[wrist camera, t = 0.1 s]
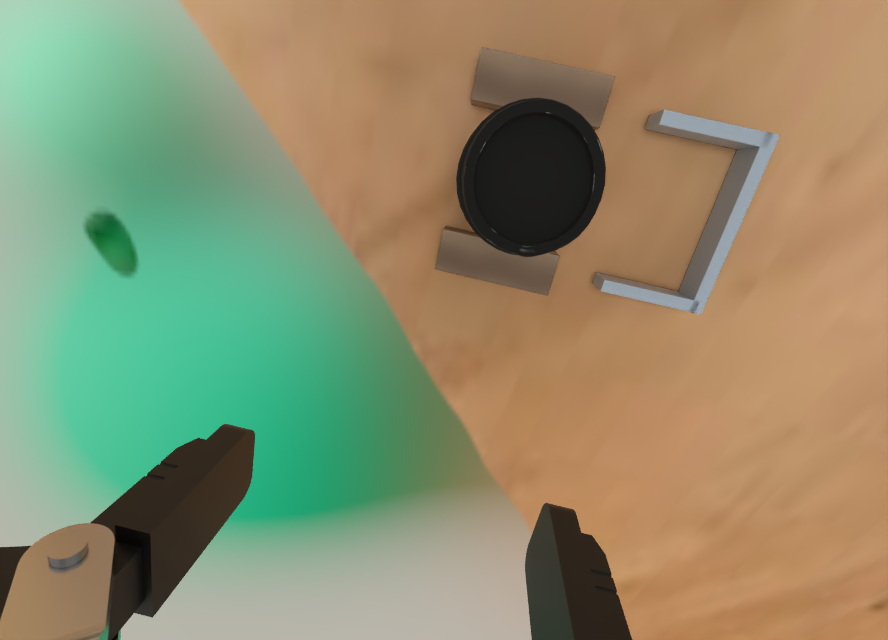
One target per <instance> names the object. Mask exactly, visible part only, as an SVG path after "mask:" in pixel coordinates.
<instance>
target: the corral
mask: <svg viewBox="0 0 888 640" xmlns="http://www.w3.org/2000/svg"><path fill="white" fill-rule="evenodd" d="M645 129H647V130H651V131H656V132H660V133H665V134H669V135H674V136H678V137H683V138H687V139H692V140H696V141H701V142H705V143H710V144H714V145H719V146H723V147H728V148H732V149H737V151H736V153H735V156H734V158H733V161H732V163H731V166H730V168H729V170H728V173H727V175H726V178H725V180H724V182H723V185H722V187H721V190H720V192H719V194H718V197H717V199H716V202H715V204H714V207H713V209H712V211H711V214H710V216H709V219H708V221H707V223H706V226H705V228H704V231H703V233H702V236H701V238H700V240H699V243H698V245H697V248H696V250H695V252H694V255H693V257H692V260H691V262H690V264H689V267H688V269H687V272H686V274H685V277H684V279H683V281H682V284H681V286H680V289H679V291H675V290H670V289H666V288H662V287H657V286H653V285H649V284H644V283H640V282H636V281H631V280H627V279H623V278H618V277H614V276H610V275H605V274H601V273H597V272H596V273H595V276H594V279H593V282H592V283H593V284H594V285H595V286H596V287H597V288H598V289H599V290H600V291H602V292H606V293H611V294H615V295H619V296H624V297H628V298H632V299H637V300H641V301H645V302H649V303H654V304H658V305H662V306H667V307H671V308H675V309H680V310H684V311H688V312H693V313H697V314H701V313H702V311H703V309H704V306H705V304H706V302H707V300H708V297H709V295H710V293H711V291H712V288H713V286H714V284H715V282H716V279H717V277H718V275H719V272H720V270H721V268H722V266H723V263H724V261H725V259H726V257H727V254H728V252H729V250H730V248H731V245H732V243H733V241H734V238H735V236H736V234H737V232H738V229H739V227H740V225H741V223H742V220H743V218H744V216H745V214H746V211H747V209H748V207H749V204H750V202H751V200H752V198H753V195H754V193H755V191H756V189H757V186H758V184H759V182H760V180H761V177H762V175H763V173H764V170H765V168H766V166H767V164H768V161H769V159H770V157H771V155H772V152H773V150H774V148H775V146H776V143H777V141H778V139H779V136H780V135H777V134H773V133H768V132H764V131H759V130H755V129H750V128H745V127H741V126H736V125H732V124H727V123H723V122H718V121H714V120H709V119H705V118H700V117H696V116H691V115H687V114H682V113H678V112H673V111H669V110H662V111H659V112H657V113H654V114H652V115H649V118H648V121H647V124H646V127H645Z"/></svg>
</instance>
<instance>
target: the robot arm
mask: <svg viewBox="0 0 888 640" xmlns="http://www.w3.org/2000/svg"><path fill="white" fill-rule="evenodd" d="M254 443H255V434H254V431H253V430H249V429H245V428H241V427H237V426H233V425H229V424H224V425H222V426H221V427H220V428H219V429H218V430H217V431H216V432H214V433H213V434H212V435H211V436H210V437H209V438H208V439H207V440H204V439H200V438H197V439H195V440H193V441H191V442H189V443H186V444H184V445H182V446H180V447H178V448H177V449H175V450H174V451H173V452H172V453H171V454H170V455H168V456H167V457H166V458H165V459H164V460H163V461H161V464H160V465H157V466H156V467H154V468H153V469H152V470H151V471H150V472H149V473H148V475H147V476H146V477H145V476H144V477H143V478H142V479H141V480H140V481H138V482H137V483H136V484H135V485H134V486H132V488H130V489H129V490H128V491H127V492H126V493H124V494H123V495H122V496H121V497H120V498H119V499H118V500H116V501H115V502H114V503H113V504H112V505H111V506H109V507H108V508H107V509H106V510H105V511H104V512H102V513H101V514H100V515H99V516H98V517H97V518H96V519H94V520H93V521H92V522H91V523H85V524H77V525H72V526H68V527H65V528H62V529H59V530H57V531H55V532H52V533H50V534H49V535H47V536H45V537H43V538H42V539H40V540H39V541H37V542H36V543H34V544H33V545H32V546H22V547H0V640H120V638H121V637H120V636H121V634H120V633H121V632H120V629H121V628H122V627H123V626H124V624H125V623H126V622H127V621H128V619H129V618H130V617H131V616H132V615H133V613H137V614H141V615H145V616H149V617H153V616H154V615H155V614H156V612H157V611H158V610H159V608H160V607H161V606H162V605H163V603H164V602H165V601H166V599H167V598H168V597H169V595H170V594H171V593H172V591H173V590H174V589H175V588H176V586H177V585H178V584H179V582H180V581H181V580H182V578H183V577H184V576H185V574H186V573H187V572H188V570H189V569H190V568H191V567H192V565H193V564H194V563H195V561H196V560H197V559H198V557H199V556H200V555H201V554H202V552H203V551H204V550H205V548H206V547H207V545H208V544H209V543H210V542H211V540H212V539H213V538H214V536H215V535H216V534H217V533H218V531H219V530H220V529H221V527H222V526H223V525H224V523H225V522H226V521H227V519H228V518H229V517H230V516H231V514H232V513H233V511H234V510H235V509H236V508H237V506H238V505H239V504H240V502H241V501H242V500H243V498H244V497H245V495H246V493H247V491H248V488H249V486H250V483H251V478H252V470H253V457H254ZM525 572H526V584H527V594H528V604H529V614H530V625H531V635H532V640H632V638H631V635H630V631H629V628H628V625H627V622H626V619H625V616H624V612H623V609H622V606H621V603H620V600H619V597H618V595H617V594H616V592H617V590H616V587H615V584H614V581H613V578H611V571H610V568H609V565H608V562H607V558H606V555H605V553H604V552H603V550H602V549H601V548H600V546H599V545H598V543H597V542H596V541H595V539H594V538H593V536H592V535H588V534H584V533H581V530H580V527H579V523H578V519H577V515H576V513H575V511H574V510H573V509H569V508H565V507H561V506H557V505H553V504H549V503H545V504H544V505H543V507H542V509H541V512H540V515H539V517H538V520H537V523H536V525H535V528H534V531H533V534H532V536H531V539H530V542H529V545H528V548H527V553H526V561H525Z"/></svg>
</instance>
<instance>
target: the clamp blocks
mask: <svg viewBox="0 0 888 640" xmlns="http://www.w3.org/2000/svg"><path fill="white" fill-rule="evenodd" d="M614 79H615V76H611V75H607V74H602V73H598V72H593V71H589V70H584V69H580V68H575V67H570V66H566V65H561V64H557V63H552V62H548V61H543V60H539V59H534V58H530V57H525V56H520V55H516V54H511V53H507V52H502V51H498V50H493V49H489V48H484V47H482V48H481V53H480V57H479V62H478V67H477V72H476V76H475V81H474V86H473V91H472V95H471V103H472V105H476V106H480V107H485V108H489V109H494V110H497V109H499V108H501V107H503V106H505V105H507V104H509V103H512V102H515V101H518V100H521V99H528V98H545V99H552V100H555V101H558V102H561V103H563V104H566V105H568V106H570V107H571V108H573V109H574V110H576V111H577V112H579V113H580V114H581V115H582V116H583V117H584V118H585V119H586V120H587V121H588V122H589V123H590V125H591V126H592V128H593V129H594V130H596V129H598V128H600V125H601V121H602V118H603V115H604V112H605V108H606V105H607V102H608V99H609V95H610V92H611V89H612V86H613V82H614ZM559 258H560V256H559V255H558V254H557V253H556V251H552V252H549V253H546V254H543V255H538V256H533V257H522V256H519V255H513V254H508V253H505V252H503V251H500V250H497V249H496V248H494V247H492V246H491V245H489V244H488V243H486V242H485V241H484V240H483V239H482V238H480V237H479V236H478V235H477V234H476V233H474V232H469V231H465V230H461V229H456V228H452V227H448V226H446V227H445V228H444V229H443V233H442V238H441V242H440V247H439V252H438V257H437V261H436V266H435V269H436V270H440V271H445V272H449V273H453V274H457V275H462V276H466V277H470V278H475V279H479V280H483V281H487V282H492V283H496V284H500V285H505V286H509V287H513V288H517V289H522V290H526V291H530V292H535V293H539V294H543V295H547V296H548V293H549V290H550V287H551V284H552V280H553V277H554V274H555V271H556V267H557V264H558V261H559Z"/></svg>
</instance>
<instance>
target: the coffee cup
mask: <svg viewBox="0 0 888 640" xmlns="http://www.w3.org/2000/svg"><path fill="white" fill-rule="evenodd" d="M605 172H606V167H605V160H604V153H603V150H602V147H601V144H600V141H599V138H598V136H597V135H596V133H595V131H594V129H593V128H592V126H591V125H590V123H589V122H588V121H587V120H586V119H585V118H584V117H583V116H582V115H581V114H580V113H579V112H577V111H576V110H574V109H573V108H571V107H570V106H568V105H566V104H563V103H561V102H558V101H555V100H552V99H545V98H528V99H521V100H518V101H515V102H512V103H509V104H507V105H505V106H503V107H501V108H499V109H497V110H496V111H494V112H493V113H492V114H490V115H489V116H488V117H487V118H486V119H485V120H483V121H482V122H481V124H480V125H479V126H478V127H477V129H476V130H475V131H474V132H473V134H472V135H471V136H470V138H469V140H468V142H467V143H466V145H465V147H464V149H463V152H462V155H461V158H460V161H459V164H458V171H457V178H456V180H457V194H458V198H459V203H460V207H461V209H462V211H463V213H464V216H465V218H466V220H467V221H468V223H469V224H470V226H471V227H472V229H473V230H474V231H475V233H476V234H477V235H478V236H479V237H480V238H482V239H483V240H484V241H485V242H486V243H488V244H489V245H491V246H492V247H494V248H496V249H497V250H500V251H503V252H505V253H508V254H513V255H519V256H522V257H533V256H538V255H543V254H546V253H549V252H552V251H555V250H557V249H559V248H561V247H563V246H565V245H567V244H569V243H570V242H572V241H573V240H574V239H575V238H577V237H578V236H579V235H580V234H581V233H582V232H583V231H584V229H585V228H586V227H587V226H588V224H589V223H590V221H591V219H592V218H593V216H594V215H595V213H596V210H597V208H598V205H599V203H600V201H601V198H602V194H603V190H604V186H605Z"/></svg>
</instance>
